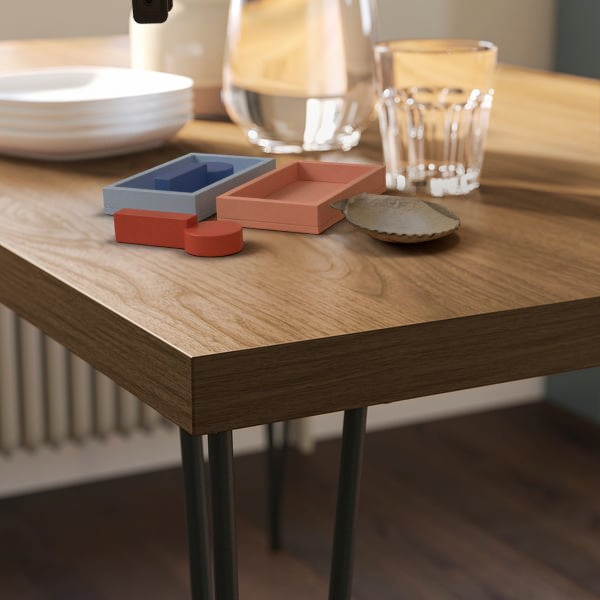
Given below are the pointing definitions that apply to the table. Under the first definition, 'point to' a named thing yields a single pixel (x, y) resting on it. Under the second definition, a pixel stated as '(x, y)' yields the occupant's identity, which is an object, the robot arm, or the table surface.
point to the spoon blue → (193, 176)
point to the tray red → (299, 195)
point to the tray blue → (202, 202)
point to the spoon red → (178, 232)
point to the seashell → (397, 217)
